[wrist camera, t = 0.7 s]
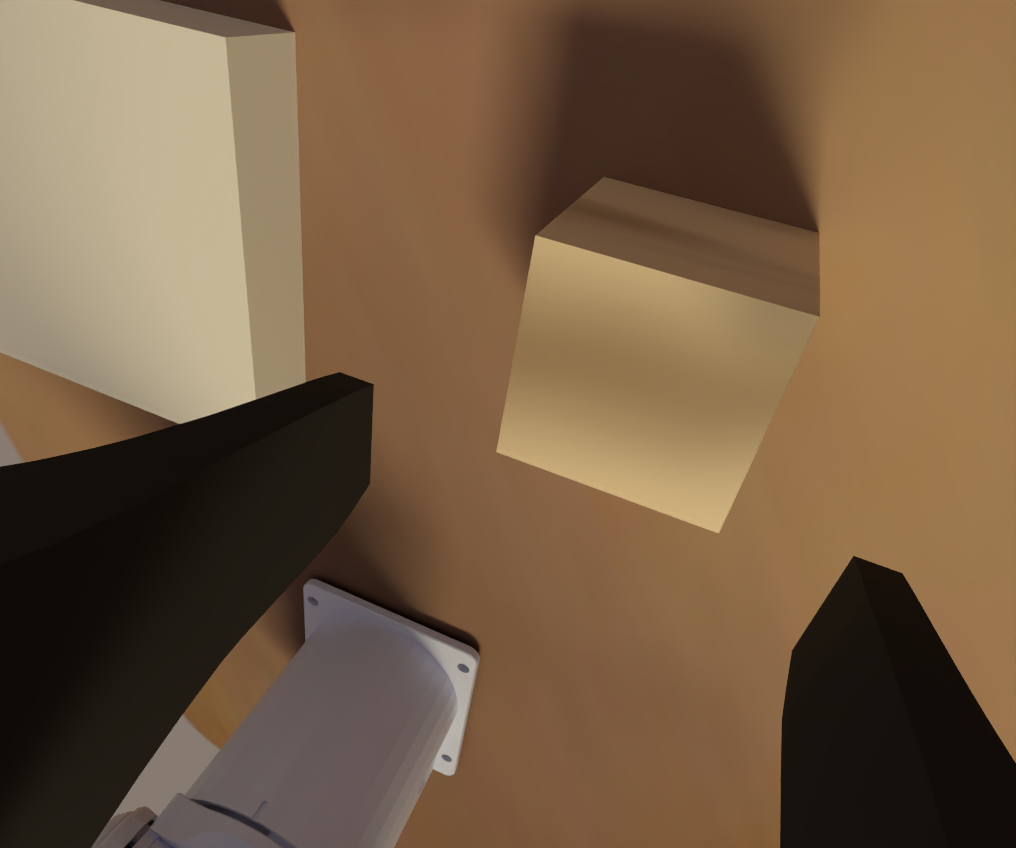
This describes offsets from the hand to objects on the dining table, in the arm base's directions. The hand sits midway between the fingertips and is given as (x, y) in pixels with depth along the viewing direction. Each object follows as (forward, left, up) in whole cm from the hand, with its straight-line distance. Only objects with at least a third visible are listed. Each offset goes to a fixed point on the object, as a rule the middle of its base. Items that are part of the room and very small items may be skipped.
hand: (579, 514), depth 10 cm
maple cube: (0, 0, -9) cm, 9 cm away
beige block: (-2, +17, -9) cm, 19 cm away
